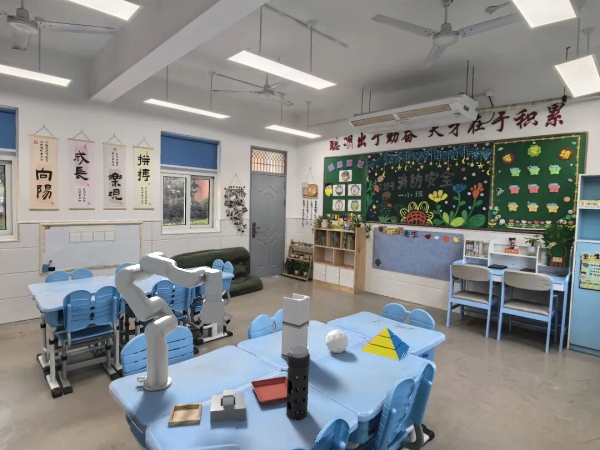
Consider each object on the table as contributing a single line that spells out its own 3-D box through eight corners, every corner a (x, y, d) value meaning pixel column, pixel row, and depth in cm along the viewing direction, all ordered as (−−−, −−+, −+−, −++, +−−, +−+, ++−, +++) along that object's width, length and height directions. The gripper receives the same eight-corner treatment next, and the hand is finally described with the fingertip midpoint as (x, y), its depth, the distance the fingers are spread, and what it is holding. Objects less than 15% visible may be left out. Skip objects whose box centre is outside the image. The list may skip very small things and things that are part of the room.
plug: (222, 414, 149) (222, 395, 148) (222, 407, 153) (222, 389, 153) (233, 413, 150) (233, 394, 149) (233, 407, 154) (233, 389, 154)
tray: (168, 427, 141) (168, 422, 141) (172, 409, 153) (172, 404, 153) (199, 424, 144) (199, 419, 143) (201, 406, 155) (201, 402, 155)
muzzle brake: (300, 404, 160) (281, 412, 153) (302, 343, 157) (282, 348, 151) (314, 414, 152) (294, 423, 146) (316, 350, 150) (296, 357, 144)
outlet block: (210, 423, 144) (210, 411, 144) (211, 406, 156) (211, 394, 156) (245, 419, 147) (245, 408, 147) (243, 403, 159) (244, 392, 159)
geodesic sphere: (335, 334, 227) (329, 321, 220) (355, 340, 219) (349, 326, 212) (325, 353, 219) (318, 340, 211) (345, 360, 211) (339, 347, 203)
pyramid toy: (399, 362, 205) (401, 338, 204) (358, 351, 218) (359, 328, 217) (410, 347, 227) (412, 325, 226) (372, 338, 239) (373, 317, 238)
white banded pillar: (308, 355, 209) (310, 296, 206) (298, 362, 200) (300, 300, 197) (291, 350, 215) (293, 293, 212) (281, 357, 206) (283, 297, 203)
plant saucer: (250, 387, 173) (250, 381, 173) (285, 381, 179) (285, 375, 179) (259, 408, 156) (259, 401, 156) (298, 401, 162) (298, 394, 162)
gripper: (192, 300, 157) (192, 338, 158) (233, 299, 160) (232, 336, 162) (194, 295, 164) (194, 331, 166) (232, 294, 168) (232, 330, 169)
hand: (213, 334), depth 164 cm, fingers open, 9 cm apart
